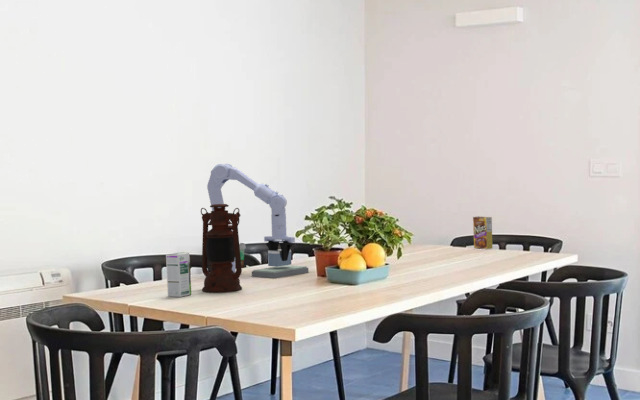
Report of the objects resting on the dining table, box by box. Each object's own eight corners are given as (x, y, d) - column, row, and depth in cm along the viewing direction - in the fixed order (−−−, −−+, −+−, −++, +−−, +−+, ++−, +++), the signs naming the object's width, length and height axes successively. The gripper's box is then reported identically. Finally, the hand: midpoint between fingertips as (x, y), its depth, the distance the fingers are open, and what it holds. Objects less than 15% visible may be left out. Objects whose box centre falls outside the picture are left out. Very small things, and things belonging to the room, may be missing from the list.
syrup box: (180, 297, 299) (179, 253, 298) (167, 296, 302) (165, 253, 301) (191, 295, 304) (190, 252, 303) (178, 294, 307) (176, 251, 306)
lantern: (190, 291, 312) (187, 205, 311) (215, 286, 324) (212, 203, 323) (229, 293, 303) (227, 205, 302) (254, 288, 315) (251, 203, 314)
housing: (291, 264, 354) (291, 249, 354) (277, 266, 348) (277, 251, 348) (282, 263, 358) (281, 248, 357) (268, 265, 351) (267, 250, 351)
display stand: (274, 278, 342) (274, 271, 341) (251, 276, 349) (251, 270, 349) (308, 272, 357) (308, 266, 357) (286, 270, 365) (286, 264, 364)
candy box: (473, 248, 436) (472, 216, 436) (479, 247, 439) (478, 216, 438) (486, 249, 429) (485, 217, 429) (492, 248, 432) (492, 216, 431)
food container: (233, 269, 374) (232, 245, 374) (222, 269, 378) (221, 245, 378) (252, 266, 384) (251, 243, 384) (241, 265, 388) (241, 242, 388)
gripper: (299, 225, 351) (300, 260, 351) (272, 224, 360) (273, 258, 361) (287, 226, 345) (288, 262, 346) (260, 226, 355) (261, 260, 355)
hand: (279, 260), depth 353 cm, fingers closed on housing, 5 cm apart
